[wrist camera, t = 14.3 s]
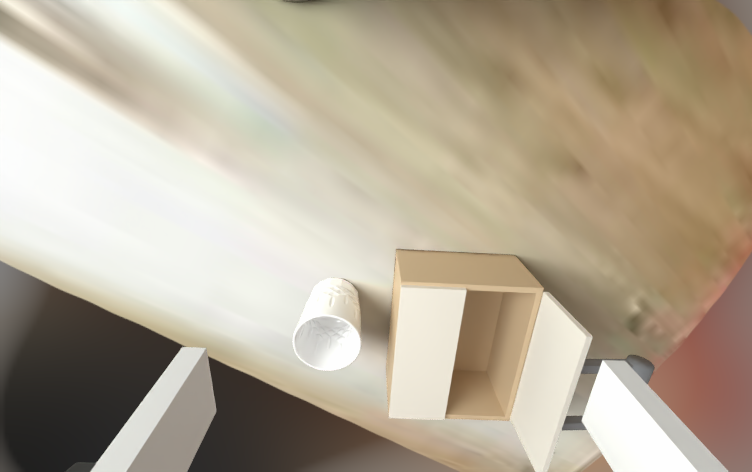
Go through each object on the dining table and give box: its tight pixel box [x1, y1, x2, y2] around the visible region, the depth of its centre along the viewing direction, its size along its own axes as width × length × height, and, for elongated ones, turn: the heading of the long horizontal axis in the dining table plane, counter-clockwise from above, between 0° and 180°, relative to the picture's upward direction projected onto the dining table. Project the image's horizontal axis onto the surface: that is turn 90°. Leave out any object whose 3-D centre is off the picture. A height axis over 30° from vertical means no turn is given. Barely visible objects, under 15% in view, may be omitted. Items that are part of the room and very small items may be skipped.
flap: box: [510, 292, 654, 472], centre depth 41 cm, size 19×8×10 cm
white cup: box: [293, 278, 361, 371], centre depth 46 cm, size 8×8×10 cm
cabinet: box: [386, 249, 544, 421], centre depth 48 cm, size 20×16×10 cm
